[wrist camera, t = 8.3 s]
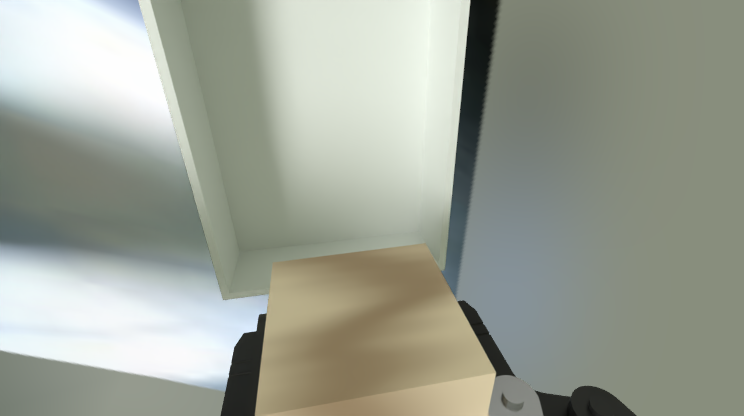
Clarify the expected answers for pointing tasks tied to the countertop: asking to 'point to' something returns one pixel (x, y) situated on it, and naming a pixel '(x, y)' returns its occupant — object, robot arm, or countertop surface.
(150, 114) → the countertop surface
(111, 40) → the countertop surface
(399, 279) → the beech cube
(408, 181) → the grey tote
